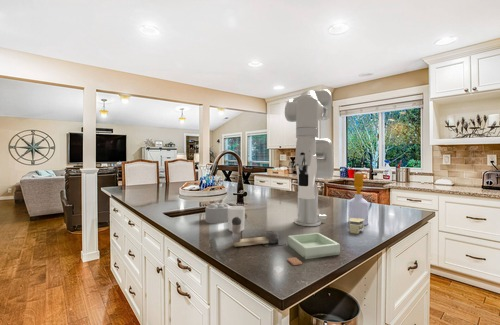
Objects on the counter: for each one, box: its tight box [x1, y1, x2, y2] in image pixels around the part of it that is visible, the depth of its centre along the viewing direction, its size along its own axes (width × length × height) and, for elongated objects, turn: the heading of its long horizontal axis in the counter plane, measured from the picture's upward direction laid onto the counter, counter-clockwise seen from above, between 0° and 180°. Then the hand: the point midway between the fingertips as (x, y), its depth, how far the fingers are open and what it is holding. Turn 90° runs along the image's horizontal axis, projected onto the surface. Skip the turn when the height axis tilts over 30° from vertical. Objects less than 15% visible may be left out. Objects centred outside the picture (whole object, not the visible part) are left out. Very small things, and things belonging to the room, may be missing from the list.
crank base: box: [262, 238, 303, 266], centre depth 89 cm, size 8×24×1 cm, turn 17°
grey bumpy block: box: [204, 201, 230, 224], centre depth 129 cm, size 10×13×9 cm
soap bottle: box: [347, 172, 369, 226], centre depth 124 cm, size 9×9×25 cm
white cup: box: [227, 205, 246, 232], centre depth 113 cm, size 8×8×10 cm
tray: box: [287, 232, 341, 260], centre depth 89 cm, size 13×13×4 cm
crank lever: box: [231, 217, 280, 247], centre depth 95 cm, size 18×5×10 cm, turn 107°
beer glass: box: [296, 155, 318, 199], centre depth 89 cm, size 7×7×15 cm
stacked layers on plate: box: [348, 218, 365, 234], centre depth 111 cm, size 10×9×6 cm
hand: (306, 184), depth 89 cm, fingers closed on beer glass, 6 cm apart
